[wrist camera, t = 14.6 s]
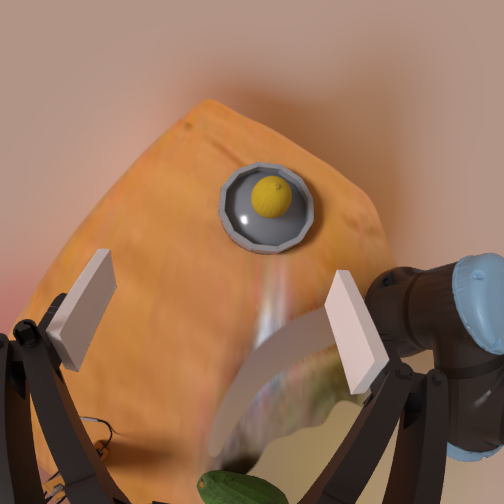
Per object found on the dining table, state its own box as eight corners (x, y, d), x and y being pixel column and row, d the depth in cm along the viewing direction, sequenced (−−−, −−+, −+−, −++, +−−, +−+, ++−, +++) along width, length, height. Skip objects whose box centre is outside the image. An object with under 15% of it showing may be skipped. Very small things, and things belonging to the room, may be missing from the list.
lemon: (263, 185, 44) (272, 158, 36) (291, 207, 44) (306, 184, 36) (240, 209, 43) (245, 186, 35) (269, 233, 42) (281, 214, 35)
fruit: (184, 477, 33) (178, 511, 23) (228, 443, 36) (232, 475, 26) (251, 520, 32) (259, 554, 22) (294, 489, 34) (311, 521, 25)
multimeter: (84, 393, 34) (9, 430, 15) (125, 442, 33) (75, 508, 14) (38, 428, 31) (-30, 464, 12) (75, 473, 30) (22, 526, 11)
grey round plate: (308, 176, 46) (312, 169, 44) (308, 258, 43) (313, 254, 41) (224, 166, 45) (224, 158, 43) (215, 250, 42) (215, 246, 39)
